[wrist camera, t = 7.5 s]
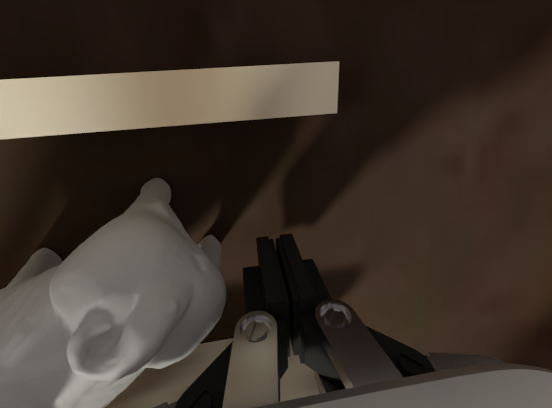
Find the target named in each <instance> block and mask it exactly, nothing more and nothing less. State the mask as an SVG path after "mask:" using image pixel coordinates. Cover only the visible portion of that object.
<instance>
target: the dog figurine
mask: <svg viewBox="0 0 552 408" xmlns="http://www.w3.org/2000/svg"><path fill="white" fill-rule="evenodd" d="M140 192H141V194H140V195H139V196H138V197H137V199H136V200H135V202H134V203H133V204H132V205H131V206H130V207H129V208H128V209H127V210H126V211H125V212H124V213H123V214H122V215H120V216H118V217H117V218H115V219H113V220H111V221H110V222H108V223H107V224H105V225H104V226H102V227H101V228H100V229H98V230H97V231H96V232H95V233H94V234H92V235H91V236H90V237H89V238H88V239H87V240H86V241H84V242H83V243H82V244H80V245H79V246H78V247H77V248H76V249H75V250H74V251H73V252H72V253H71V254H70V255H69V256H68V257H67V258H66V259H65V260H64V261H63V262H62V260H61V258H60V257H59V256H58V255H57V254H56V253H55V252H53V251H52V250H50V249H48V248H42V249H40V250H38V251H36V252H35V253H34V254H33V255H32V256H31V257H30V259H29V260H28V262H27V263H26V264H25V265H24V266H23V267H22V269H21V270H20V271H19V272H18V273H17V275H16V276H15V277H14V279H13V280H12V281H11V282H10V283H9V284H8V285H7V287H5V288H3V289H1V290H0V408H104V407H106V406H107V405H108V404H109V403H110V402H111V401H112V400H113V399H114V398H116V396H117V395H118V394H120V393H121V392H122V391H124V390H125V389H126V388H127V387H128V386H129V385H130V384H131V383H132V382H133V381H134V380H135V379H136V377H138V376H139V375H140V374H141V373H142V372H143V370H144V369H145V368H156V369H162V368H164V367H166V366H169V365H171V364H173V363H176V362H178V361H180V360H182V359H183V358H185V357H187V356H188V355H189V354H190V353H192V352H193V351H194V350H195V348H196V347H197V346H198V345H199V344H200V342H201V341H202V340H203V339H204V338H205V337H206V336H207V335H208V334H209V332H210V331H211V330H212V329H213V327H214V326H215V325H216V324H217V322H218V321H219V319H220V318H221V315H222V312H223V309H224V306H225V302H226V285H225V282H224V279H223V277H222V275H221V267H222V266H221V244H220V242H219V241H218V240H217V239H216V238H215V237H214V236H213V235H208V236H206V237H204V238H203V239H202V240H201V241H200V243H199V246H198V245H197V244H196V243H195V242H193V240H192V239H191V238H190V236H189V235H188V233H187V232H186V231H185V229H184V227H183V226H182V224H181V222H180V220H179V219H178V217H177V216H176V215H175V213H174V212H173V210H172V209H171V207H170V206H169V203H170V200H171V189H170V187H169V185H168V184H167V183H166V182H165V181H164V180H163V179H161V178H153V179H151V180H150V181H148V182H147V183H145V184H144V185H143V186H142V188H141V191H140Z"/></svg>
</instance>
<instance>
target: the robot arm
mask: <svg viewBox="0 0 552 408" xmlns="http://www.w3.org/2000/svg"><path fill="white" fill-rule="evenodd" d="M256 241H257V252H258V264H259V266H254V267H247V268H243V279H244V296H245V313H246V314H245V315H244V316H242V317H241V318H240V319H239V321H238V322H237V324H236V327H235V332H234V338H233V341H232V342H231V343H230V344H229V345H228V346H227V347H226V348H225V349H224V351H223V352H222V353H221V354H220V355H219V356H218V357H217V358H216V359H215V360H214V361H213V362H212V363H211V364H210V365H209V366H208V367H207V368H206V370H205V371H204V372H203V373H202V374H201V375H200V376H199V377H198V378H197V379H196V380H195V381H194V382H193V383H192V384H191V385H190V386H189V387H188V388H187V390H186V391H185V392H184V393H183V394H182V395H181V397H180V398H179V399H178V401H176V402H173V403H171V404H169V405H168V403H167V402H165V403H162V404H160V405H157V406H155V407H153V408H552V370H550V369H546V368H541V367H536V366H530V365H523V364H510V363H503V362H502V361H499V360H497V359H495V358H493V357H489V356H484V355H467V354H449V353H430V352H428V355H427V356H425V355H423V354H421V353H420V352H418V351H416V350H415V349H413V348H411V347H409V346H407V345H404V344H402V343H400V342H398V341H396V340H394V339H392V338H390V337H388V336H386V335H384V334H382V333H380V332H378V331H375V330H373V329H371V328H369V327H367V326H365V325H364V323H363V322H362V321H361V319H360V318H359V317H358V315H357V314H356V313H355V311H354V310H353V309H352V308H351V307H350V306H349V305H348V304H346V303H345V302H342V301H339V300H333V299H331V298H330V295H329V293H328V291H327V289H326V287H325V285H324V282H323V280H322V278H321V276H320V274H319V272H318V269H317V267H316V265H315V263H314V261H313V259H307V260H302V258H301V255H300V253H299V250H298V248H297V245H296V243H295V240H294V238H293V235H292V234H284V235H280V238H276V249H275V245H274V242H273V239H268V236H267V237H258V238H256ZM290 341H291V345H292V350H293V354H294V356H296V355H299V358H300V362H301V364H304V363H305V365H306V366H308V367H309V368H311V369H312V370H313V373H314V377H315V379H316V382H317V384H318V386H319V388H320V391H321V393H322V394H317V395H312V396H307V397H302V398H297V399H292V400H287V401H282V402H281V397H280V379H281V378H282V376H283V375H284V373H285V372H286V370H287V369H288V357H290Z"/></svg>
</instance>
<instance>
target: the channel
mask: <svg viewBox="0 0 552 408" xmlns="http://www.w3.org/2000/svg"><path fill="white" fill-rule="evenodd" d="M338 82H339V61H334V62H316V63H297V64H279V65H261V66H242V67H224V68H206V69H187V70H169V71H151V72H132V73H114V74H96V75H77V76H59V77H41V78H22V79H4V80H0V139H13V138H25V137H38V136H51V135H64V134H76V133H89V132H102V131H115V130H128V129H140V128H153V127H166V126H179V125H192V124H204V123H217V122H230V121H243V120H255V119H268V118H281V117H294V116H307V115H319V114H332V113H337V106H338ZM232 341H233V338H231V339H225V340H219V341H214V342H208V343H202V344H199V345H198V346H197V347H196V348H195V350H194V351H193V352H192V353H190V354H189V355H188V356H187V357H185V358H183V359H182V360H180V361H178V362H176V363H173V364H171V365H169V366H166V367H164V368H162V369H156V368H145V369H144V370H143V372H142V373H141V374H140V375H139V376H138V377H136V379H135V380H134V381H133V382H132V383H131V384H130V385H129V386H128V387H127V388H126V389H125V390H124V391H122V392H121V393H120V394H118V395H117V396H116V398H114V399H113V400H112V401H111V402H110V403H109V404H108V405H107V406H106V407H104V408H153V407H155V406H157V405H160V404H162V403H165V402H167V403H168V405H169V404H171V403H173V402H176V401H178V399H179V398H180V397H181V395H182V394H183V393H184V392H185V391H186V390H187V388H188V387H189V386H190V385H191V384H192V383H193V382H194V381H195V380H196V379H197V378H198V377H199V376H200V375H201V374H202V373H203V372H204V371H205V370H206V368H207V367H208V366H209V365H210V364H211V363H212V362H213V361H214V360H215V359H216V358H217V357H218V356H219V355H220V354H221V353H222V352H223V351H224V349H225V348H226V347H227V346H228V345H229V344H230V343H231V342H232ZM317 394H319V390H318V387H317V383H316V380H315V377H314V373H313V370H312V369H311V368H309V367H308V366H306V365H305V363H304V364H301V362H300V358H299V355H296V356H294V354H293V350H292V345H291V341H290V357H288V369H287V370H286V372H285V373H284V375H283V376H282V378H281V379H280V397H281V402H282V401H287V400H292V399H297V398H302V397H307V396H312V395H317Z"/></svg>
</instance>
